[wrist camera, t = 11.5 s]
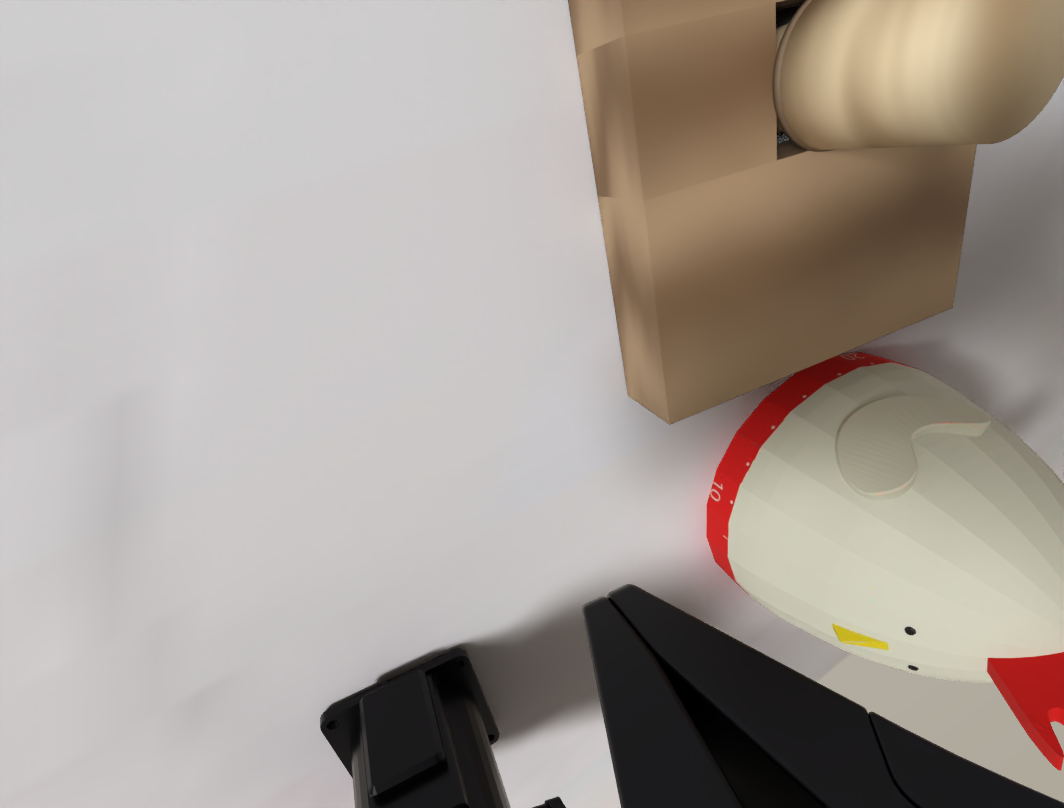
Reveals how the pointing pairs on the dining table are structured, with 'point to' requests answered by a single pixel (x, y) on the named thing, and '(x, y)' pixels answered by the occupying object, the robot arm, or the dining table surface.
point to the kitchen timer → (901, 530)
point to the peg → (915, 71)
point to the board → (746, 208)
